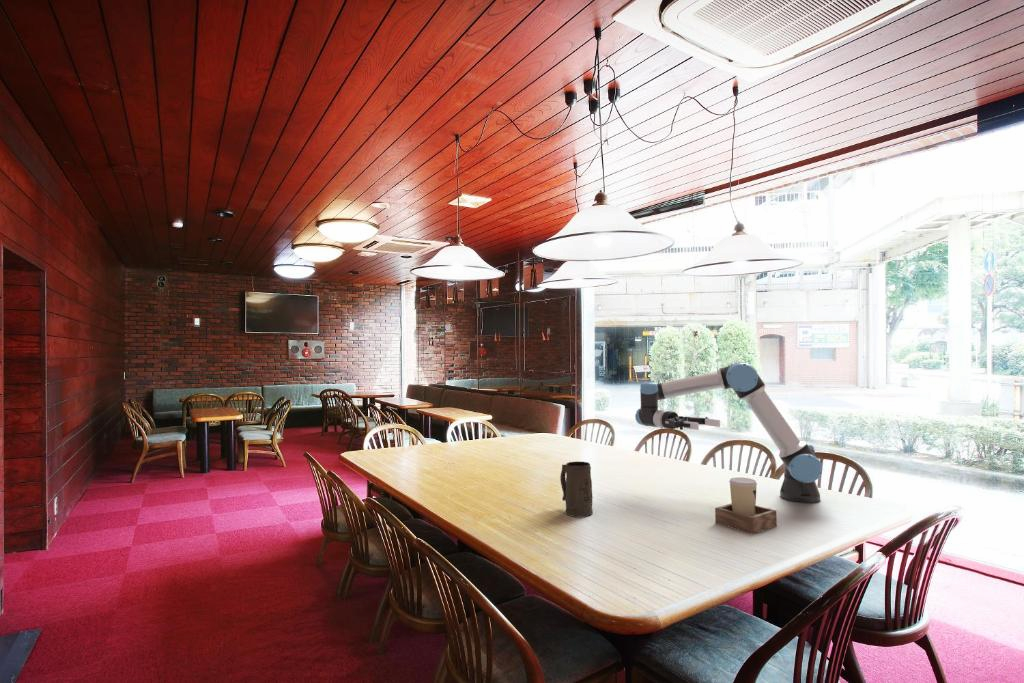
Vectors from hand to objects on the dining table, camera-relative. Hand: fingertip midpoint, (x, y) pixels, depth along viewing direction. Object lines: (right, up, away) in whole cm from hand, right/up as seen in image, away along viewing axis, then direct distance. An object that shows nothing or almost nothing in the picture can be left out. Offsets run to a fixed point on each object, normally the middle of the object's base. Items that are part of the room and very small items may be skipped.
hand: (708, 424), depth 210 cm
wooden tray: (+7, -33, -18) cm, 39 cm away
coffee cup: (+7, -30, -15) cm, 35 cm away
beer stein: (-54, -35, 0) cm, 64 cm away
